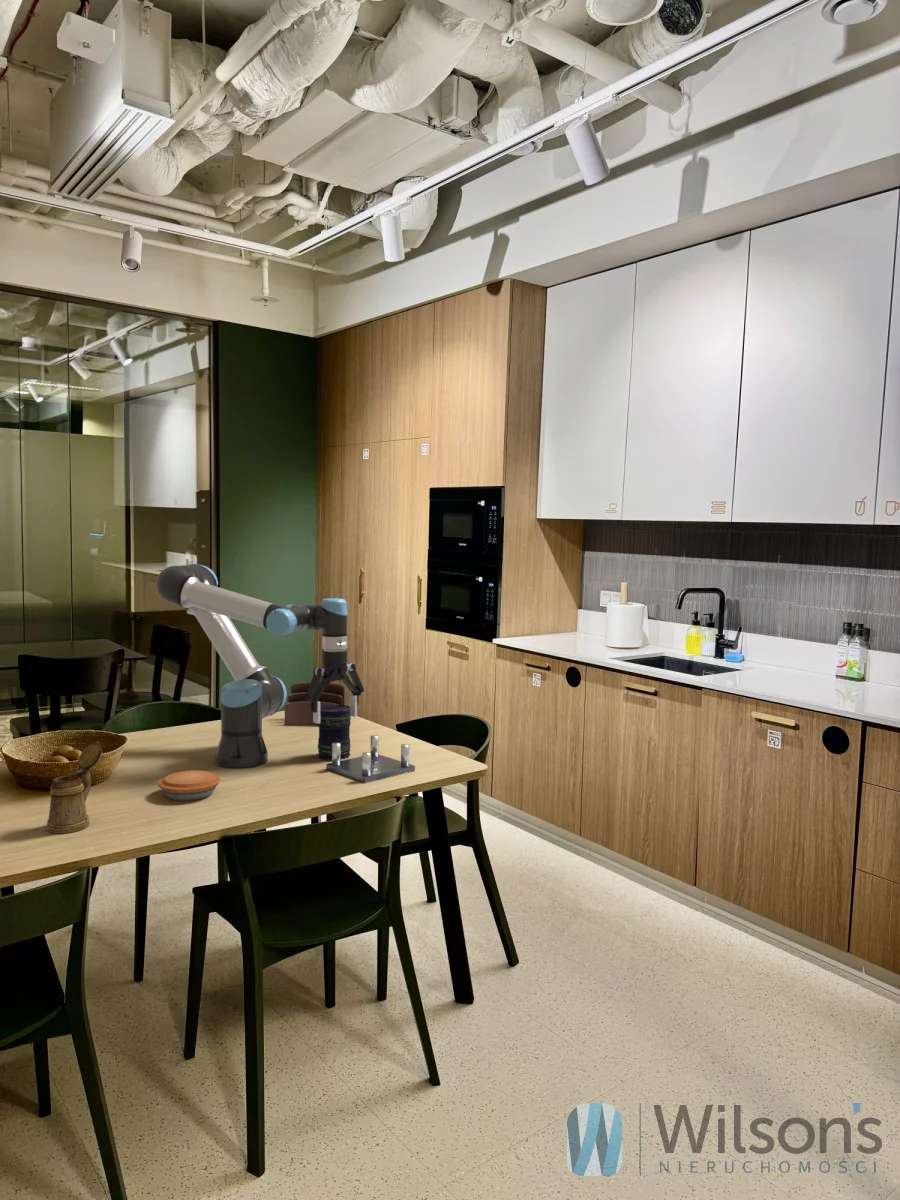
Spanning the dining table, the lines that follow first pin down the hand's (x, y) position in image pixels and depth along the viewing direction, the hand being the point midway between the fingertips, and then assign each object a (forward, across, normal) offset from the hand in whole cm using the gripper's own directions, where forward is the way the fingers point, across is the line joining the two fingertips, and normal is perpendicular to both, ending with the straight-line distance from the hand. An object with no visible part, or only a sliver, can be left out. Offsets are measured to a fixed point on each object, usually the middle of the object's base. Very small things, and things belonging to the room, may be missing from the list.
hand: (335, 719), depth 257 cm
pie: (+11, -50, -6) cm, 52 cm away
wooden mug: (+11, -80, -10) cm, 82 cm away
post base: (+12, -1, -19) cm, 22 cm away
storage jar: (+12, 0, 0) cm, 12 cm away
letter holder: (+11, +22, +42) cm, 49 cm away
